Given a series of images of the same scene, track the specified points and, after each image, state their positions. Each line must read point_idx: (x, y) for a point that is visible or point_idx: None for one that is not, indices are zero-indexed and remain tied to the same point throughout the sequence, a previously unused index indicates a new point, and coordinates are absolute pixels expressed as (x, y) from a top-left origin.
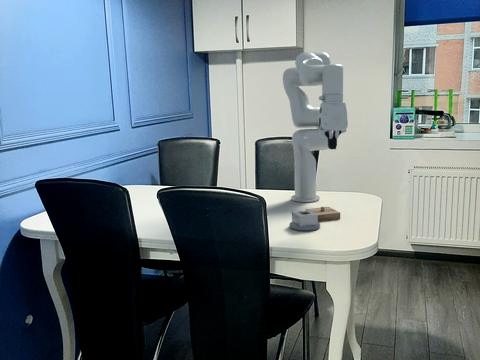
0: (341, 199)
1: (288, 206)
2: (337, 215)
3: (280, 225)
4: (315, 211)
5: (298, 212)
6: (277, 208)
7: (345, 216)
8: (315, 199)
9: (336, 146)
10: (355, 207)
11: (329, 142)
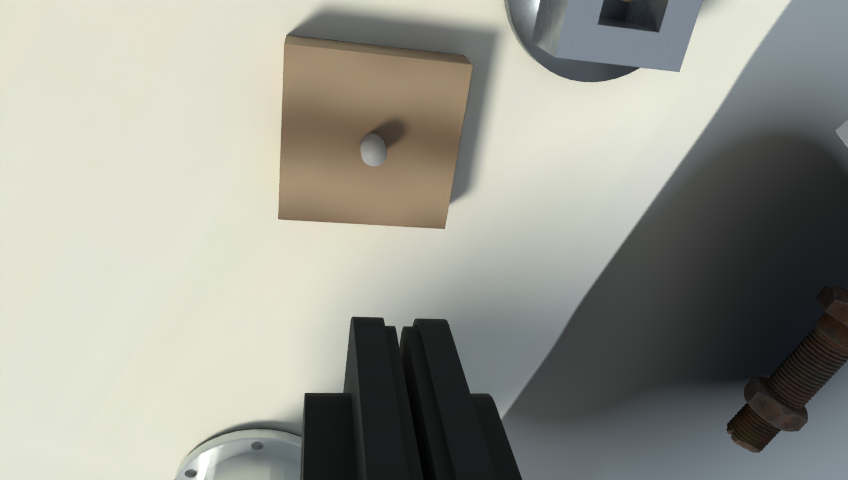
0: (45, 425)
1: None
2: (308, 43)
3: (682, 88)
4: (423, 151)
5: (657, 34)
6: (489, 385)
7: (220, 72)
8: (227, 440)
9: (306, 395)
10: (38, 236)
11: (511, 471)
